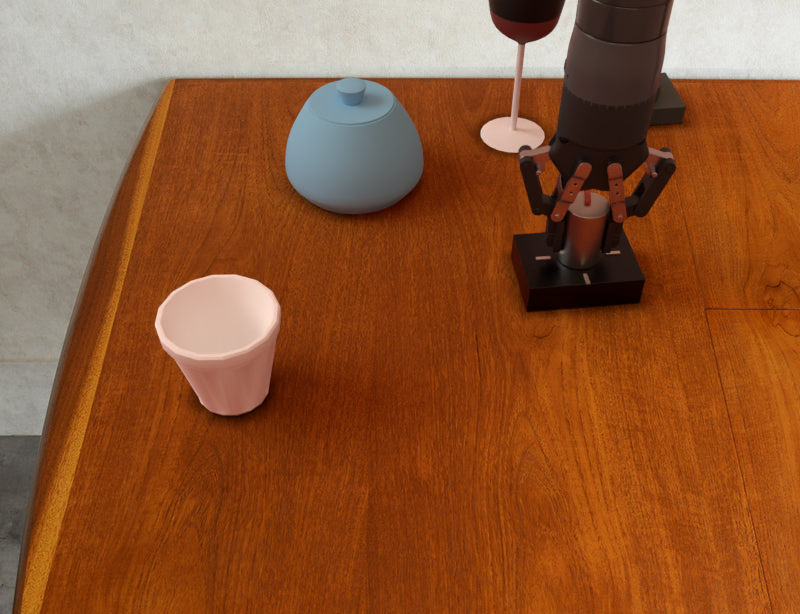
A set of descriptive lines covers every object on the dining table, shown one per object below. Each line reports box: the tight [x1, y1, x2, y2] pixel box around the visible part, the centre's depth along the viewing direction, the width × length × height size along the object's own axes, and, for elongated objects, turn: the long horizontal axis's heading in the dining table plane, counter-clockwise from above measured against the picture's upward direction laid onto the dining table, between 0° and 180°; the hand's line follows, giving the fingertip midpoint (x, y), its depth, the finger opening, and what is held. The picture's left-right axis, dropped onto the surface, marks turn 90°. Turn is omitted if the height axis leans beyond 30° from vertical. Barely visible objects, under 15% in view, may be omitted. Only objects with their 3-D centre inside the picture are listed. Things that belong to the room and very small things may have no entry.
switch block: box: [649, 72, 687, 126], centre depth 107 cm, size 11×8×4 cm
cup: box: [154, 273, 282, 417], centre depth 75 cm, size 10×10×9 cm
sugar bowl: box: [284, 77, 425, 215], centre depth 94 cm, size 15×15×12 cm
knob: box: [557, 189, 610, 269], centre depth 83 cm, size 4×4×6 cm
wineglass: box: [480, 0, 566, 154], centre depth 97 cm, size 8×9×20 cm
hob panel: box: [510, 226, 646, 313], centre depth 87 cm, size 11×8×3 cm
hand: (580, 246), depth 85 cm, fingers closed on knob, 4 cm apart
